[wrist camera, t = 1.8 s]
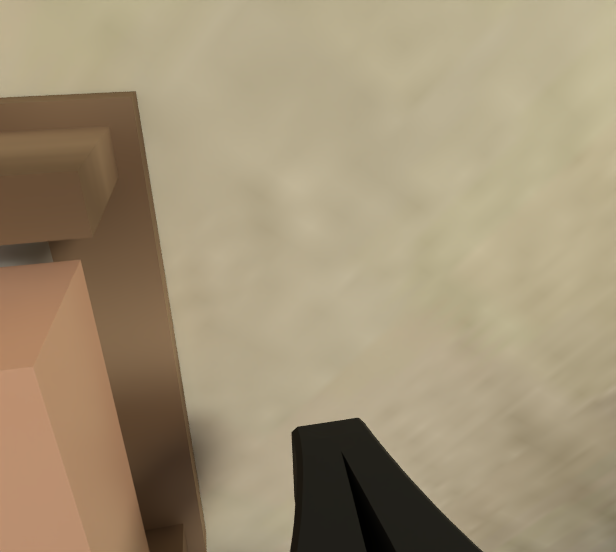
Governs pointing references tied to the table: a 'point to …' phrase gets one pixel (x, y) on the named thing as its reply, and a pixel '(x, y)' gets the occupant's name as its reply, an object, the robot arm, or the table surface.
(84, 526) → the tile
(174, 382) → the track
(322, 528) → the robot arm
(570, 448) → the table surface
